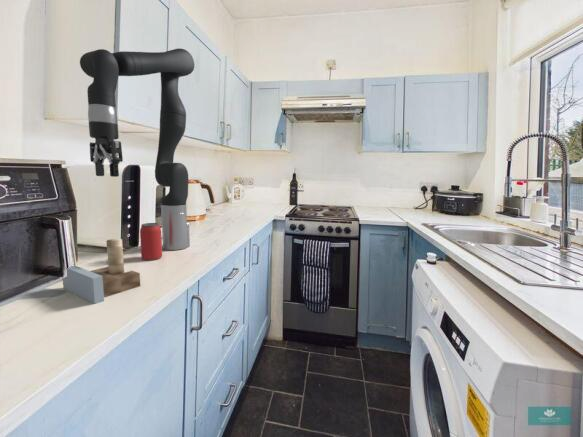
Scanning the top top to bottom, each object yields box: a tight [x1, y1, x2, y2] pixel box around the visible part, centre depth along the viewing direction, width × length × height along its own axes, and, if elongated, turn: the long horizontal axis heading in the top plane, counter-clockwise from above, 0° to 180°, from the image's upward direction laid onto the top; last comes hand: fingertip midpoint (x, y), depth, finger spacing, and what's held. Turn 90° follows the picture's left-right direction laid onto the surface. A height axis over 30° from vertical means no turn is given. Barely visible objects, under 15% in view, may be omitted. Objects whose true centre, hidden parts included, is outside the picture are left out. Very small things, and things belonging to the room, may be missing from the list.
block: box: [90, 266, 141, 298], centre depth 78 cm, size 10×12×4 cm
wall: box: [62, 264, 105, 305], centre depth 72 cm, size 2×16×6 cm, turn 58°
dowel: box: [106, 238, 125, 276], centre depth 79 cm, size 4×4×12 cm
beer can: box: [139, 222, 163, 261], centre depth 103 cm, size 7×7×12 cm
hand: (107, 176), depth 93 cm, fingers open, 8 cm apart
